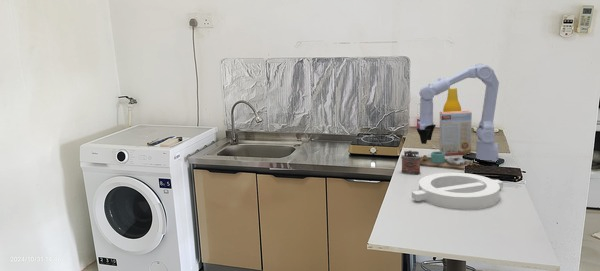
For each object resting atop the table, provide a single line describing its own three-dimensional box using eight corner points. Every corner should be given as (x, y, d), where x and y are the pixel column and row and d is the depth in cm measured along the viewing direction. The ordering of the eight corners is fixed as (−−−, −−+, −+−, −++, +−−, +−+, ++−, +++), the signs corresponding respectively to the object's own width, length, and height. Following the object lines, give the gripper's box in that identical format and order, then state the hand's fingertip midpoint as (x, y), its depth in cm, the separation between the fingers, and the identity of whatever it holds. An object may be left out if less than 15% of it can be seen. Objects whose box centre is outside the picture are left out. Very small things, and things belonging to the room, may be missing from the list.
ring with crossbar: (504, 189, 175) (504, 177, 174) (492, 215, 152) (493, 201, 151) (430, 180, 190) (430, 169, 189) (409, 203, 166) (409, 190, 165)
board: (471, 163, 209) (471, 155, 209) (465, 170, 199) (466, 162, 198) (421, 158, 221) (421, 151, 220) (413, 165, 211) (413, 157, 210)
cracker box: (467, 151, 228) (469, 110, 224) (471, 155, 223) (472, 112, 218) (438, 152, 230) (439, 111, 225) (441, 155, 224) (441, 113, 220)
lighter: (400, 173, 200) (400, 150, 198) (402, 171, 203) (402, 149, 201) (419, 175, 196) (419, 152, 194) (421, 172, 199) (421, 150, 197)
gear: (446, 160, 212) (446, 152, 211) (443, 164, 207) (443, 155, 206) (432, 159, 215) (432, 150, 214) (428, 162, 210) (428, 154, 209)
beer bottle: (438, 141, 252) (439, 88, 246) (452, 139, 256) (453, 86, 250) (450, 144, 244) (452, 90, 238) (464, 142, 248) (465, 88, 241)
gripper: (422, 109, 219) (422, 137, 222) (413, 115, 207) (413, 144, 210) (437, 110, 215) (437, 138, 218) (428, 115, 203) (428, 145, 206)
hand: (426, 141), depth 214 cm, fingers open, 7 cm apart
